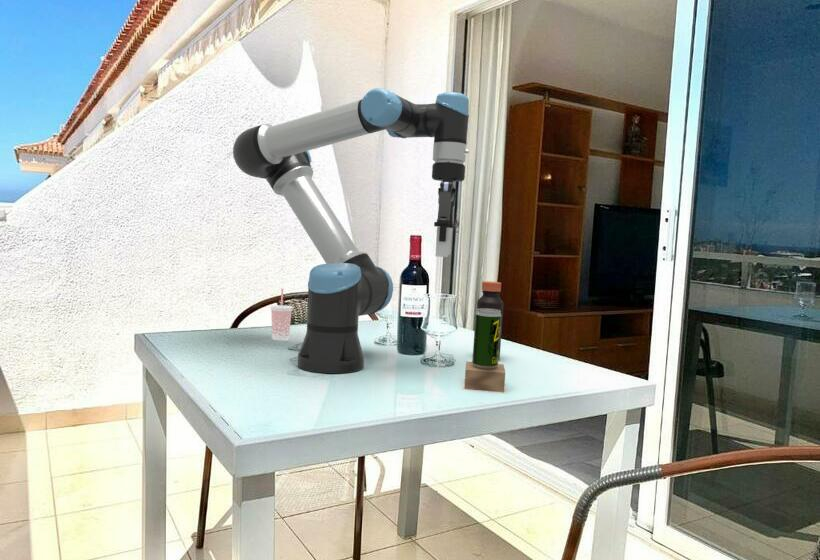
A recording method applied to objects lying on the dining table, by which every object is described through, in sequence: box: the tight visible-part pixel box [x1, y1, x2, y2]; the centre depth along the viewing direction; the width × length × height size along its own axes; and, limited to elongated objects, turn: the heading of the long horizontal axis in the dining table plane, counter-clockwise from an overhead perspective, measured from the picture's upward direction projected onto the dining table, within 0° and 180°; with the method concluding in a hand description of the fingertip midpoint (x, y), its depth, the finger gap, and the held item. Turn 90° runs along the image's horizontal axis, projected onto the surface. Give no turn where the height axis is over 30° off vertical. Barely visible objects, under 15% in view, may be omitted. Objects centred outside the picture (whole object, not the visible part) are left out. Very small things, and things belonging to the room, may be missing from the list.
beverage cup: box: [270, 288, 294, 341], centre depth 168 cm, size 6×6×14 cm
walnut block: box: [464, 361, 506, 393], centre depth 126 cm, size 8×8×4 cm
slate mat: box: [461, 378, 507, 394], centre depth 127 cm, size 16×10×1 cm, turn 84°
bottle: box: [476, 280, 504, 361], centre depth 156 cm, size 7×7×20 cm
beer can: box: [471, 308, 501, 370], centre depth 126 cm, size 5×5×12 cm
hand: (443, 255), depth 140 cm, fingers open, 13 cm apart
